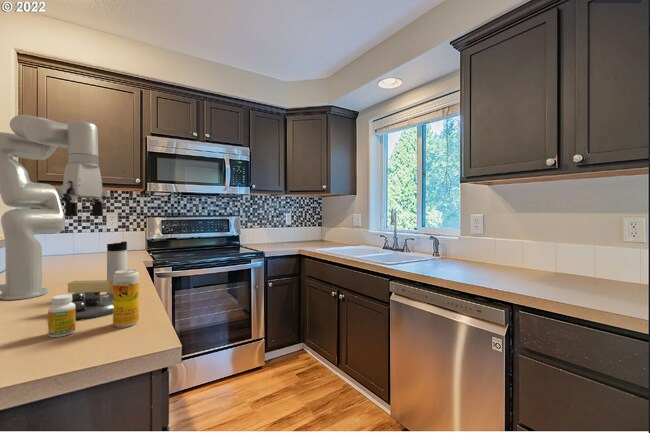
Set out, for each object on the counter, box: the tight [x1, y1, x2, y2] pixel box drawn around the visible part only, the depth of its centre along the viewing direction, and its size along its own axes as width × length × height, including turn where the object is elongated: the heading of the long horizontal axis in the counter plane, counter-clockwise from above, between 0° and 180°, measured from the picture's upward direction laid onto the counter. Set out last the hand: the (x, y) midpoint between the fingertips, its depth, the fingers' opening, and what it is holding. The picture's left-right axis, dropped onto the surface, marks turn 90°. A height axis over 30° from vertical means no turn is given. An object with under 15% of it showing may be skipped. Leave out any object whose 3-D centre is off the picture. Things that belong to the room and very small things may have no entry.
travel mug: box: [106, 241, 128, 296], centre depth 116 cm, size 6×7×20 cm
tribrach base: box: [71, 293, 113, 321], centre depth 98 cm, size 18×18×4 cm
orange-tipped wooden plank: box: [67, 279, 113, 305], centre depth 98 cm, size 13×4×7 cm, turn 99°
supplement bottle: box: [47, 293, 76, 338], centre depth 80 cm, size 5×5×10 cm
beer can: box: [112, 268, 140, 329], centre depth 87 cm, size 6×6×15 cm
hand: (85, 216), depth 97 cm, fingers open, 9 cm apart
